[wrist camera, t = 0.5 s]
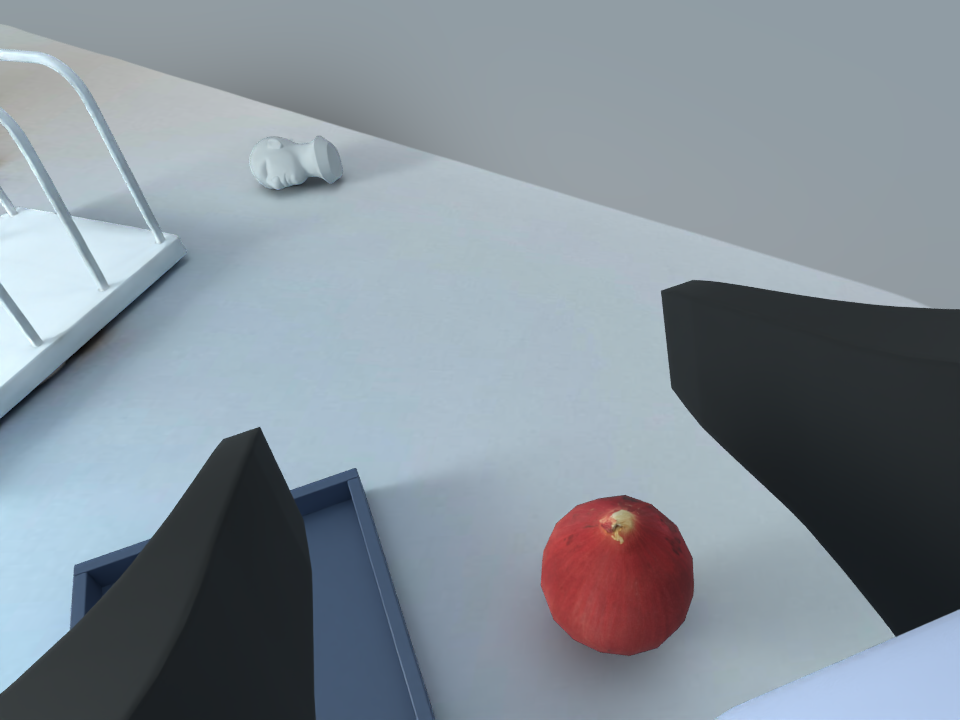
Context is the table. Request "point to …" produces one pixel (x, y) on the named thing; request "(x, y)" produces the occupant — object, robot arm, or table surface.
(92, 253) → the file sorter
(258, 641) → the robot arm
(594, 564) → the red pomegranate
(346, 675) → the tray
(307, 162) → the pale two-lobed sculpture
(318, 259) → the table surface
